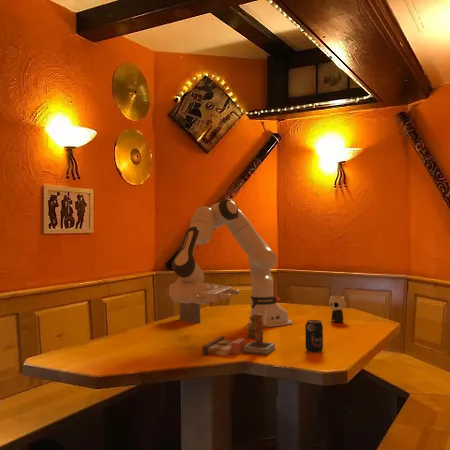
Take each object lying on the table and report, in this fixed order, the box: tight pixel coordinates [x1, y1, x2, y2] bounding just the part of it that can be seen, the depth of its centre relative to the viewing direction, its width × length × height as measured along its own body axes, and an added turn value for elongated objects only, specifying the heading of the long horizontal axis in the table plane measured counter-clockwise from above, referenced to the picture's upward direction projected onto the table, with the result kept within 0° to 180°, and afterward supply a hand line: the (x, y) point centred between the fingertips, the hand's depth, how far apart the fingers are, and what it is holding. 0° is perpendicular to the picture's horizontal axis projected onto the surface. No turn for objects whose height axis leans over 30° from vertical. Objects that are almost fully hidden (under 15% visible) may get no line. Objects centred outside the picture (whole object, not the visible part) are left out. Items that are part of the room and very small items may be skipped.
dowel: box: [255, 314, 264, 348], centre depth 204 cm, size 3×3×14 cm
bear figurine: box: [328, 295, 347, 323], centre depth 261 cm, size 11×7×13 cm, turn 38°
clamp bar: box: [201, 335, 226, 356], centre depth 208 cm, size 2×19×4 cm, turn 157°
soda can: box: [304, 319, 324, 354], centre depth 204 cm, size 7×7×12 cm
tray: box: [242, 340, 276, 356], centre depth 204 cm, size 10×10×2 cm
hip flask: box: [179, 303, 201, 324], centre depth 266 cm, size 16×4×20 cm, turn 41°
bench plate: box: [208, 339, 234, 357], centre depth 206 cm, size 10×14×2 cm
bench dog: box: [230, 337, 246, 355], centre depth 203 cm, size 3×8×4 cm, turn 157°
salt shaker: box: [246, 315, 255, 340], centre depth 229 cm, size 7×7×10 cm
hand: (234, 294), depth 208 cm, fingers open, 8 cm apart
